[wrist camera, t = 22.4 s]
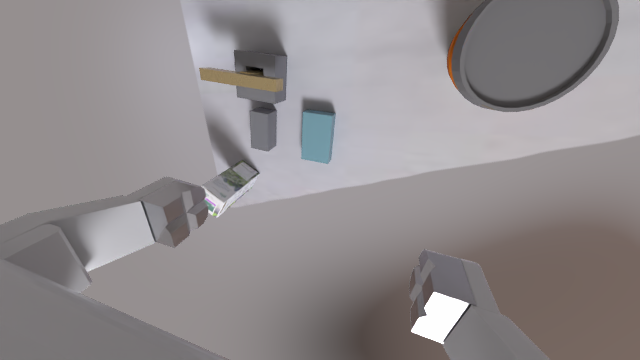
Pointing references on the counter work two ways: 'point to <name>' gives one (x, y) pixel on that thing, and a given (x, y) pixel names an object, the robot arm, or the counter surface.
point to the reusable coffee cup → (529, 50)
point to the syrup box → (228, 187)
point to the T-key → (243, 79)
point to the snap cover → (317, 135)
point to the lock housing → (262, 95)
